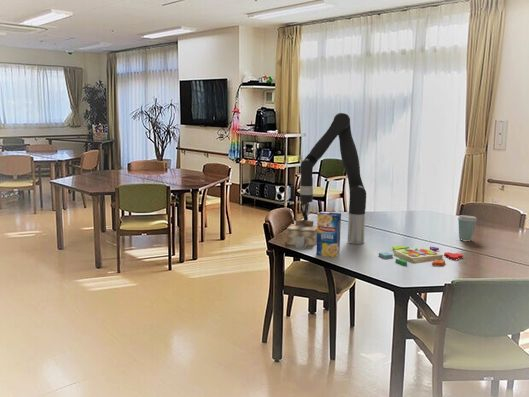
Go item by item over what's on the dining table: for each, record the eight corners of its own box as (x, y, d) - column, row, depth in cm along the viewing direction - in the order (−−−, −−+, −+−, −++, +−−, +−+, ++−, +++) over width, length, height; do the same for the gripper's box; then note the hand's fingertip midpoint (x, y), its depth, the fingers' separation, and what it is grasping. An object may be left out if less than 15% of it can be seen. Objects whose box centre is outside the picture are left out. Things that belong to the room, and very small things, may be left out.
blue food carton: (319, 251, 268) (321, 211, 264) (339, 254, 264) (341, 213, 260) (316, 254, 262) (317, 214, 258) (336, 257, 258) (338, 215, 254)
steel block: (305, 246, 278) (305, 236, 277) (303, 248, 273) (303, 238, 272) (297, 245, 279) (297, 235, 278) (295, 247, 275) (295, 237, 274)
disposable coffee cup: (457, 237, 303) (459, 213, 301) (476, 239, 298) (478, 215, 295) (454, 240, 294) (456, 216, 292) (473, 243, 289) (476, 218, 286)
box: (318, 241, 289) (318, 227, 288) (314, 246, 278) (314, 232, 277) (291, 238, 294) (291, 225, 292) (286, 243, 282) (286, 230, 281)
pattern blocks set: (423, 272, 237) (423, 266, 236) (369, 255, 263) (370, 250, 263) (468, 259, 259) (468, 253, 259) (414, 245, 286) (415, 239, 285)
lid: (318, 227, 288) (318, 220, 287) (314, 231, 277) (314, 225, 276) (291, 225, 292) (291, 218, 292) (286, 229, 281) (286, 223, 280)
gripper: (310, 195, 280) (309, 225, 283) (315, 192, 293) (314, 220, 296) (297, 194, 283) (296, 224, 286) (302, 191, 295) (301, 219, 298)
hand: (305, 222), depth 291 cm, fingers closed
